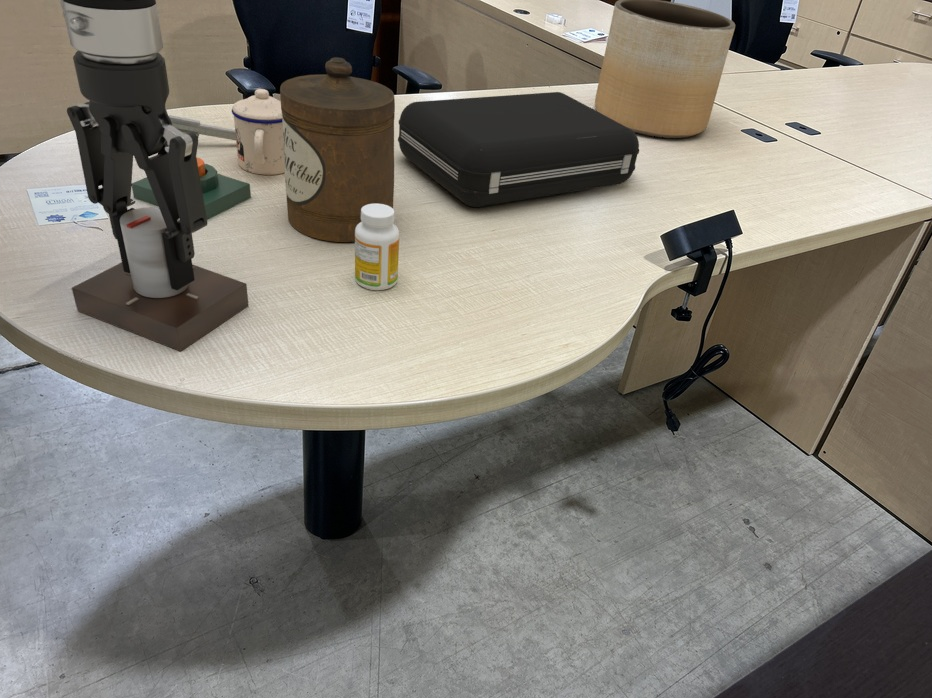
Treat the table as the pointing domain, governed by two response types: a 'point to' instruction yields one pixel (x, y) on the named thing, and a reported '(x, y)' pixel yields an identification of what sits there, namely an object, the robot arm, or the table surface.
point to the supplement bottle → (376, 248)
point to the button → (201, 167)
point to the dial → (147, 252)
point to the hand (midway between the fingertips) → (159, 275)
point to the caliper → (201, 128)
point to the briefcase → (516, 146)
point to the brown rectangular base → (162, 305)
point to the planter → (662, 67)
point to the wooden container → (336, 150)
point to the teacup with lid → (259, 134)
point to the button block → (205, 192)
